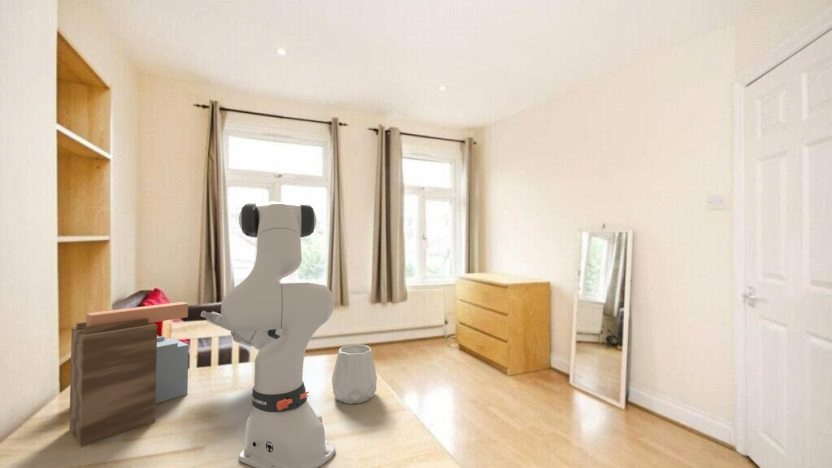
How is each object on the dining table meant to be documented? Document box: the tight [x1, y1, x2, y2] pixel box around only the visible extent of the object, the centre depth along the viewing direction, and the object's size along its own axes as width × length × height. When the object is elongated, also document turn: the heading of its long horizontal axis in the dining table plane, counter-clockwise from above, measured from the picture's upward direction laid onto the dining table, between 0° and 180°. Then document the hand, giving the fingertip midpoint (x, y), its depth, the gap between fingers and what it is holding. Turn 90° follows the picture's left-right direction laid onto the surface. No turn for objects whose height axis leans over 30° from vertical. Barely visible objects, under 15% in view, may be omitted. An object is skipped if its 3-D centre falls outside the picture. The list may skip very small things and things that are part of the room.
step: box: [155, 335, 190, 405], centre depth 116 cm, size 12×11×17 cm
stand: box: [68, 318, 158, 447], centre depth 97 cm, size 12×15×28 cm
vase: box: [331, 343, 378, 405], centre depth 117 cm, size 14×14×15 cm
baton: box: [85, 301, 189, 327], centre depth 101 cm, size 4×22×4 cm, turn 142°
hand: (208, 315), depth 116 cm, fingers open, 8 cm apart
